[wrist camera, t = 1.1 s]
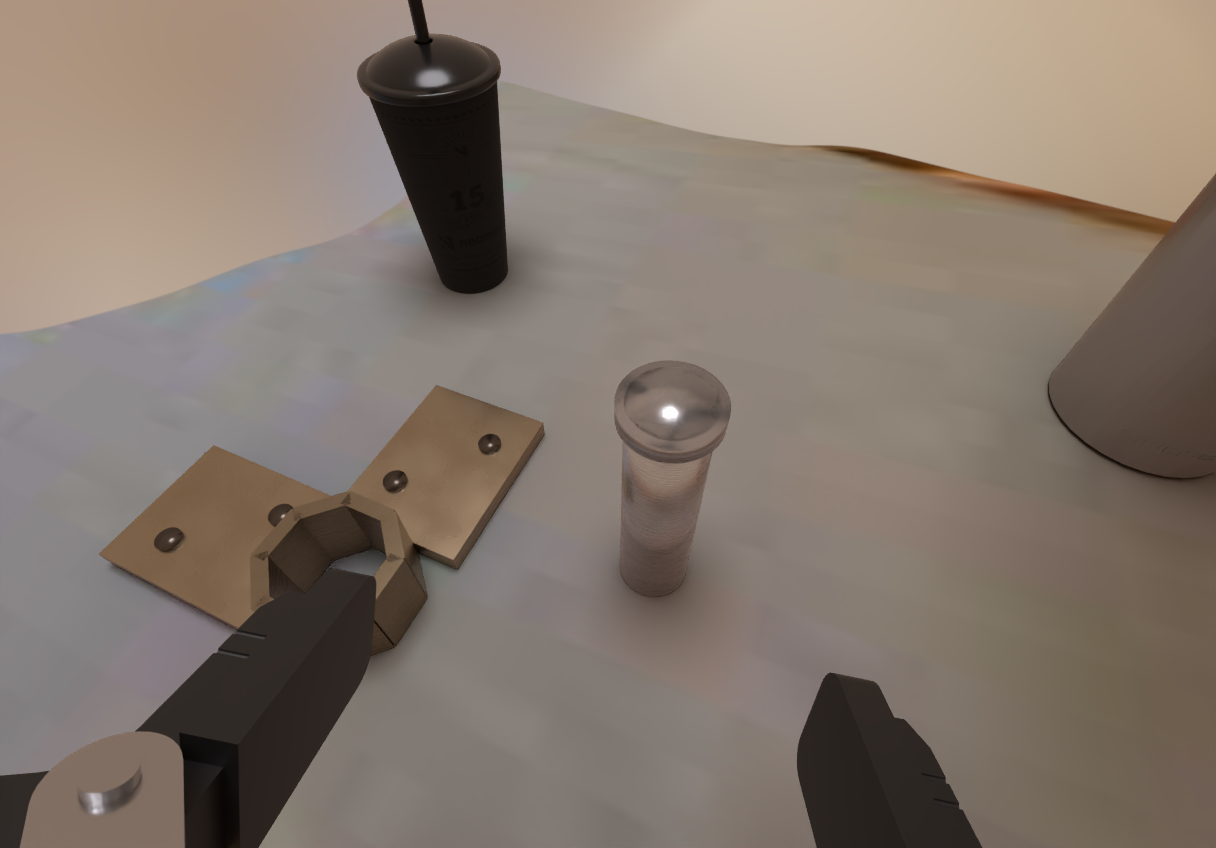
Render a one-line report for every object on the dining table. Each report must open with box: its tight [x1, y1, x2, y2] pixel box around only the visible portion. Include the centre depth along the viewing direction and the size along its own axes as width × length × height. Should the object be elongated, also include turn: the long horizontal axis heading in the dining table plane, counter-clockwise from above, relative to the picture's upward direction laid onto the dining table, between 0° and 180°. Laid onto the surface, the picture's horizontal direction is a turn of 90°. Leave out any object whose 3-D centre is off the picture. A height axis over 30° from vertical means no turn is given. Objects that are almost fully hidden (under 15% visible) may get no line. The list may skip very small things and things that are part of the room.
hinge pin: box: [614, 361, 731, 597], centre depth 25 cm, size 4×4×12 cm
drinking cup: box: [357, 0, 508, 293], centre depth 36 cm, size 8×8×20 cm
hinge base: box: [99, 385, 545, 656], centre depth 30 cm, size 16×16×4 cm
